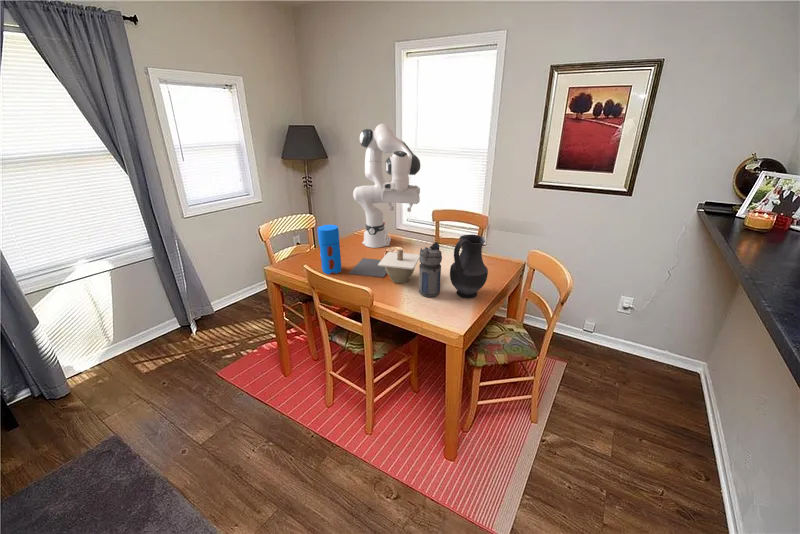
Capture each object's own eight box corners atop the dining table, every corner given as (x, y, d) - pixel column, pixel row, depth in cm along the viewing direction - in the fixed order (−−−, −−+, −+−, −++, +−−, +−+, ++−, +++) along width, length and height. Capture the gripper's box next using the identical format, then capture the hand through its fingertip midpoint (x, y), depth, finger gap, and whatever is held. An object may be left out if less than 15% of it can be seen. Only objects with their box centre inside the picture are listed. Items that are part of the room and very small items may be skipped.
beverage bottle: (445, 289, 171) (447, 241, 161) (433, 300, 161) (435, 250, 151) (427, 284, 176) (428, 238, 166) (414, 295, 166) (414, 246, 155)
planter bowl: (379, 282, 178) (378, 263, 174) (394, 271, 191) (393, 253, 187) (406, 289, 172) (406, 269, 167) (420, 276, 185) (420, 258, 180)
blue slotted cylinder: (322, 275, 187) (317, 231, 177) (321, 267, 196) (316, 225, 186) (342, 273, 190) (339, 229, 179) (340, 265, 199) (337, 223, 189)
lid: (388, 253, 187) (388, 242, 185) (420, 256, 183) (421, 245, 180) (377, 265, 171) (377, 255, 169) (413, 269, 167) (413, 258, 165)
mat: (363, 258, 208) (363, 258, 208) (395, 262, 203) (395, 261, 203) (348, 273, 188) (348, 272, 188) (383, 277, 184) (383, 276, 183)
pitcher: (491, 293, 167) (498, 234, 155) (468, 310, 153) (474, 246, 141) (461, 282, 178) (465, 226, 165) (437, 297, 164) (439, 237, 151)
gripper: (421, 184, 178) (420, 210, 184) (383, 182, 183) (384, 207, 189) (418, 187, 173) (418, 213, 179) (380, 184, 178) (380, 211, 184)
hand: (400, 210), depth 184 cm, fingers open, 8 cm apart
